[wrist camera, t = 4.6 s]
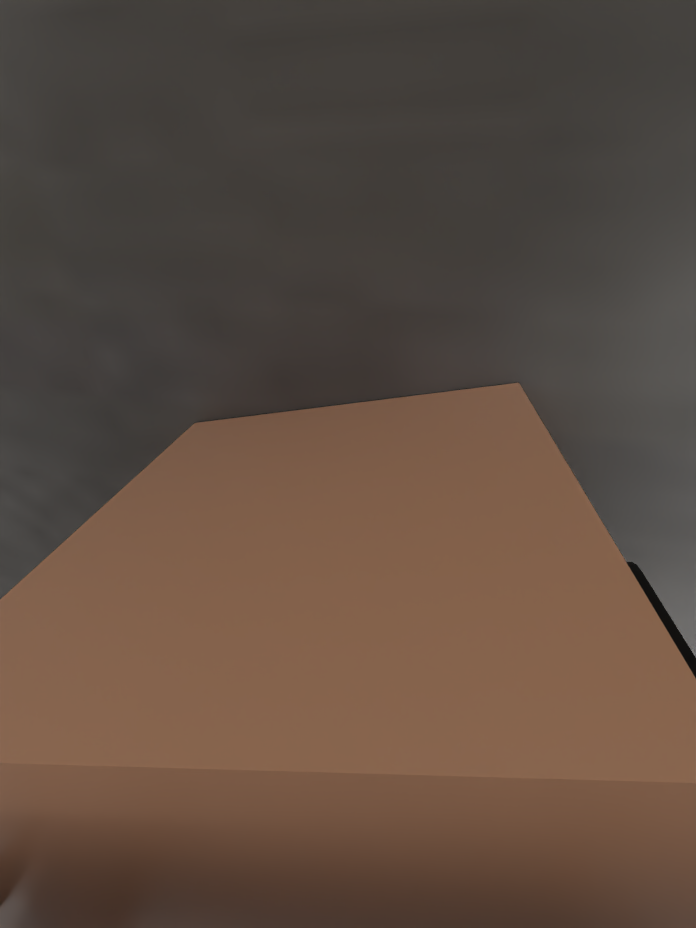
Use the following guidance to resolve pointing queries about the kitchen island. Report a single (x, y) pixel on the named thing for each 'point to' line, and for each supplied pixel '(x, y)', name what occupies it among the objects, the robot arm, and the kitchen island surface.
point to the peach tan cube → (346, 690)
